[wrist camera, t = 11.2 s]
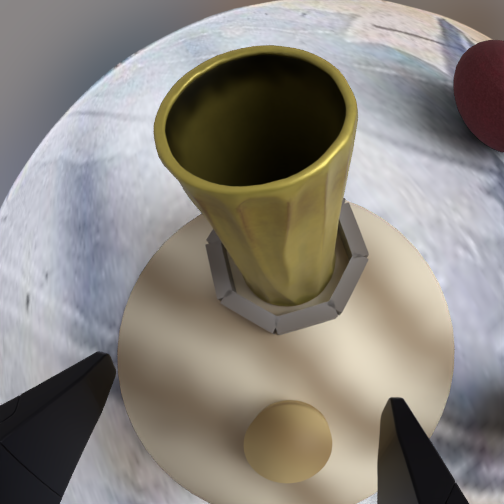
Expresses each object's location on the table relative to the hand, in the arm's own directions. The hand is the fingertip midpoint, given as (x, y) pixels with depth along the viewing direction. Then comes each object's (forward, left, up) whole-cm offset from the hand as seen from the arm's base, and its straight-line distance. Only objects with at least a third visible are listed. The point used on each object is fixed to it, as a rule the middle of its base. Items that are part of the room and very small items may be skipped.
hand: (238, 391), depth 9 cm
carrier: (+1, 0, -11) cm, 12 cm away
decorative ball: (+27, -8, -12) cm, 30 cm away
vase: (+7, +3, -11) cm, 13 cm away
